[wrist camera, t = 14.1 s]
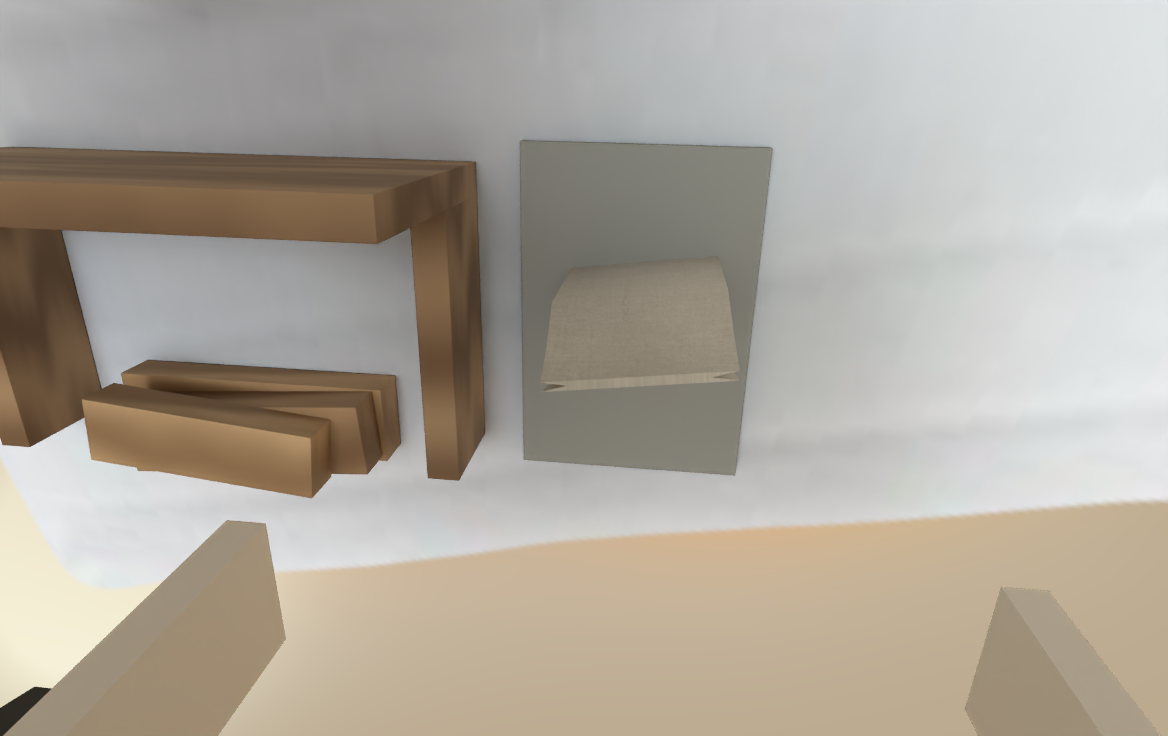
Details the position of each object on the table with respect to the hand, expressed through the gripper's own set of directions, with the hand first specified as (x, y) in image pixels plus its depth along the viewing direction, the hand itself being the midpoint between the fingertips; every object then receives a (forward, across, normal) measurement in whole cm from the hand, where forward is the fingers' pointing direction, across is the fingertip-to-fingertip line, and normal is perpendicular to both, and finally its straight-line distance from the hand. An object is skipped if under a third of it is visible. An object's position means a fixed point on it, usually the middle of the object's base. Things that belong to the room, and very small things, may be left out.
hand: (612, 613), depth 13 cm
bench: (+22, -20, -1) cm, 30 cm away
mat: (+22, 0, -1) cm, 22 cm away
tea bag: (+22, 0, 0) cm, 22 cm away
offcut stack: (+22, -20, -7) cm, 31 cm away
